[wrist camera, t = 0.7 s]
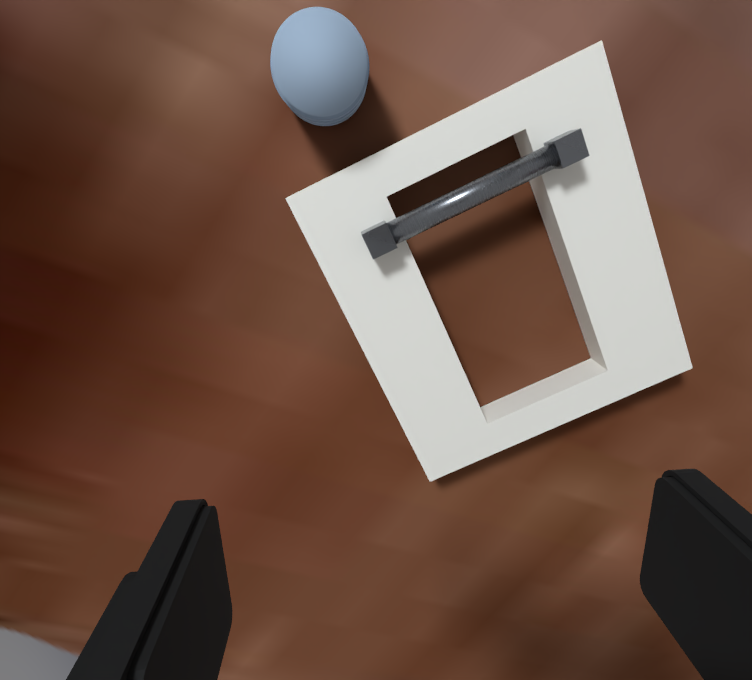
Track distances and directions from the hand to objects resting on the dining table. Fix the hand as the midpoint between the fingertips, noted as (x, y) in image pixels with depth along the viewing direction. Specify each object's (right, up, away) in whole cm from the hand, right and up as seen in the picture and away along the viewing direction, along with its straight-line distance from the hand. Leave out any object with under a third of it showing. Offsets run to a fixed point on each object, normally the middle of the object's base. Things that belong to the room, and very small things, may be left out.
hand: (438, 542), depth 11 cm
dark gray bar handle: (+4, +13, +20) cm, 24 cm away
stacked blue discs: (-5, +20, +20) cm, 28 cm away
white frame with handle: (+7, +8, +24) cm, 26 cm away
